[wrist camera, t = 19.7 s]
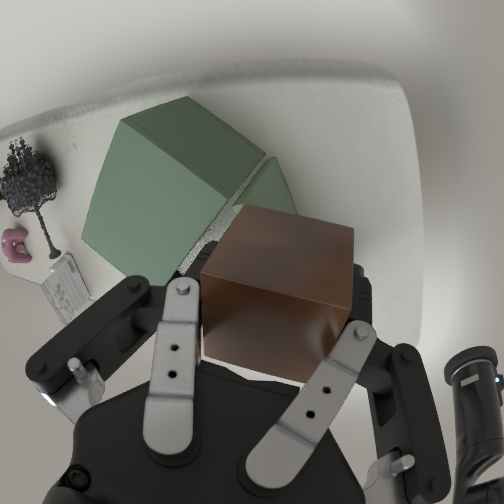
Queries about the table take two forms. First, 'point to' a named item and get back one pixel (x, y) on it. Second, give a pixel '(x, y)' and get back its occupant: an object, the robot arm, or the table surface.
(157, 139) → the cupboard
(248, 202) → the door
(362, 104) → the table surface
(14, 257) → the video game controller
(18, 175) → the massage brush
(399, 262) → the table surface
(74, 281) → the ink cartridge box
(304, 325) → the block
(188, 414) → the robot arm
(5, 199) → the dinosaur model
